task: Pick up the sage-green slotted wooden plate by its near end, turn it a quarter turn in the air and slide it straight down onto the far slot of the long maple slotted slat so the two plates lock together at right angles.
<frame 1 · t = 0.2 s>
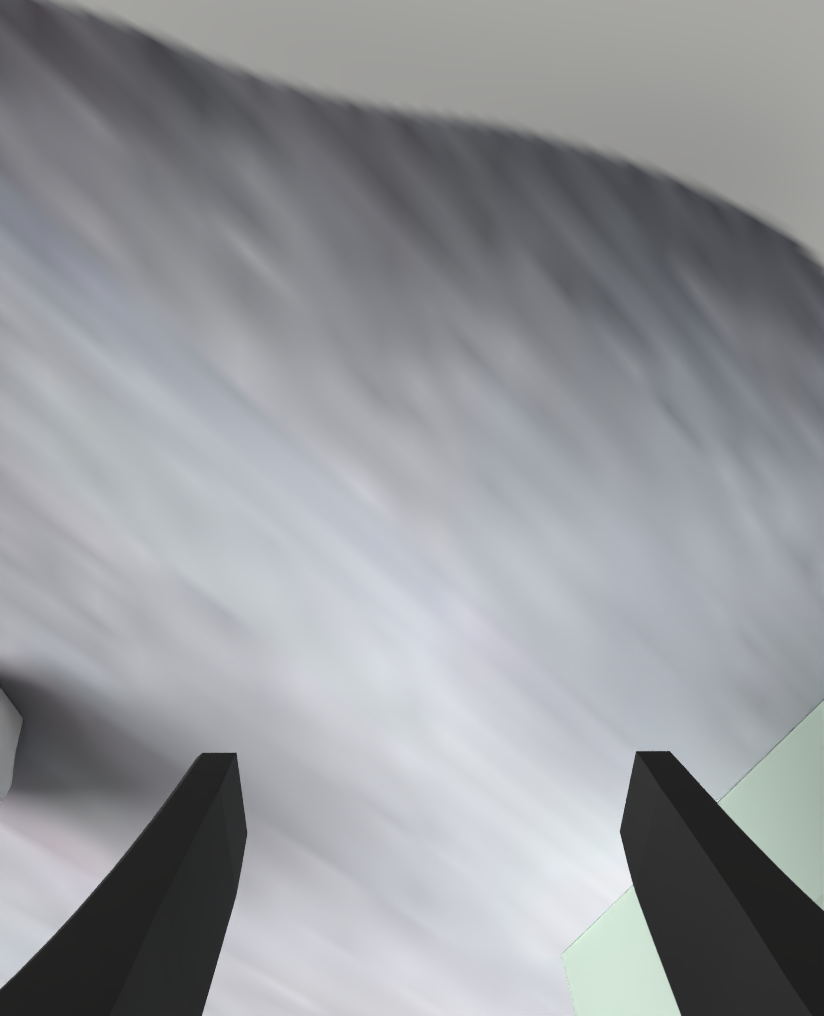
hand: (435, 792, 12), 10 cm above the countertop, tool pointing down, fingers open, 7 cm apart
green plate: (706, 832, 25), on the countertop
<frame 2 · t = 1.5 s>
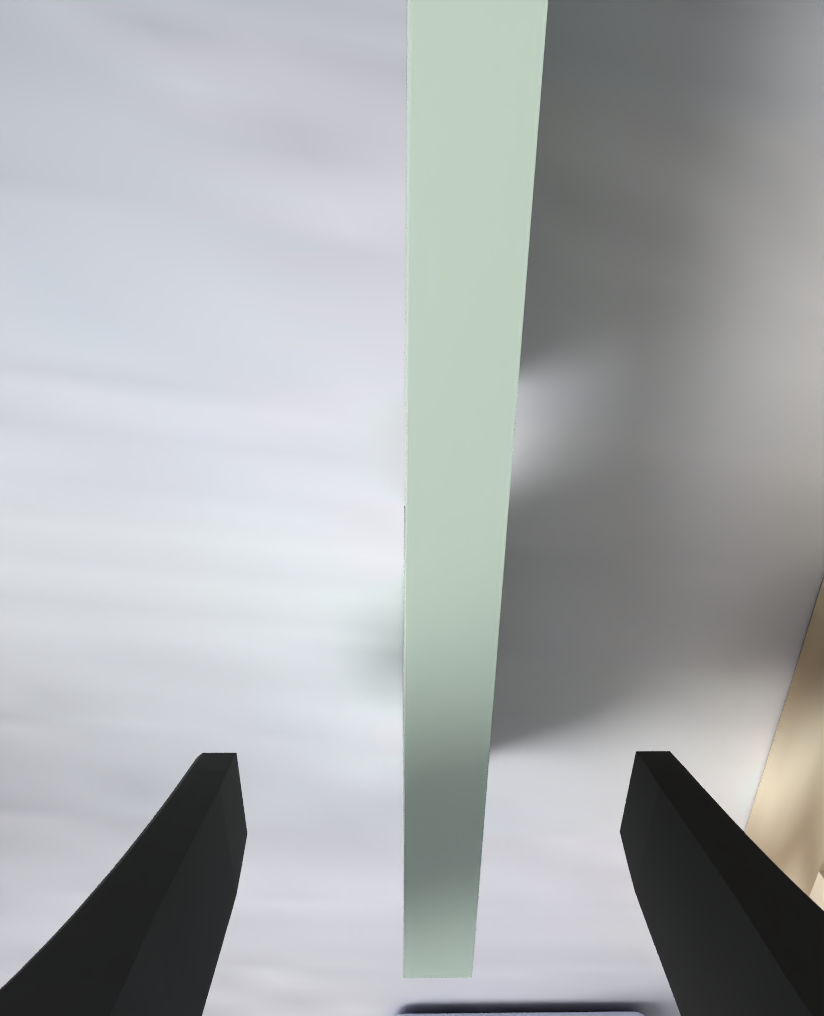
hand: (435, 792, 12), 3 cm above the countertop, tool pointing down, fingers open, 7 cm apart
green plate: (435, 449, 13), on the countertop
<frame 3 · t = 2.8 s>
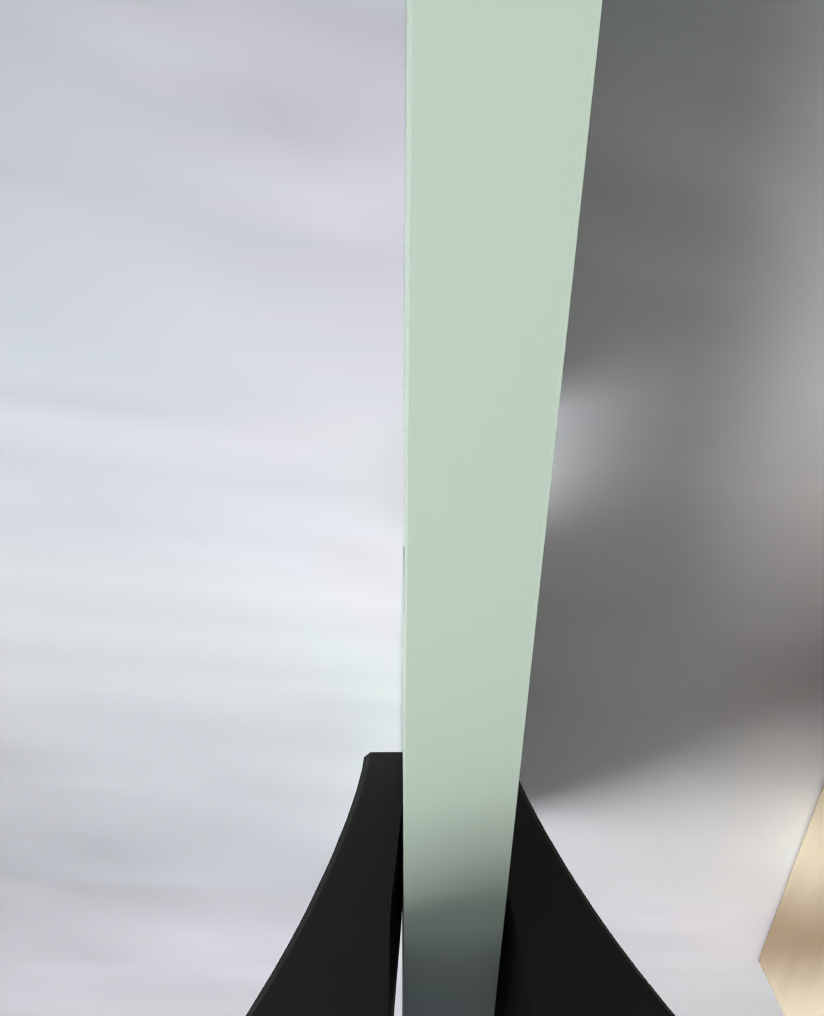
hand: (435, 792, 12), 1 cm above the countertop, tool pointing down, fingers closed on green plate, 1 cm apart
green plate: (439, 482, 11), on the countertop, touching gripper
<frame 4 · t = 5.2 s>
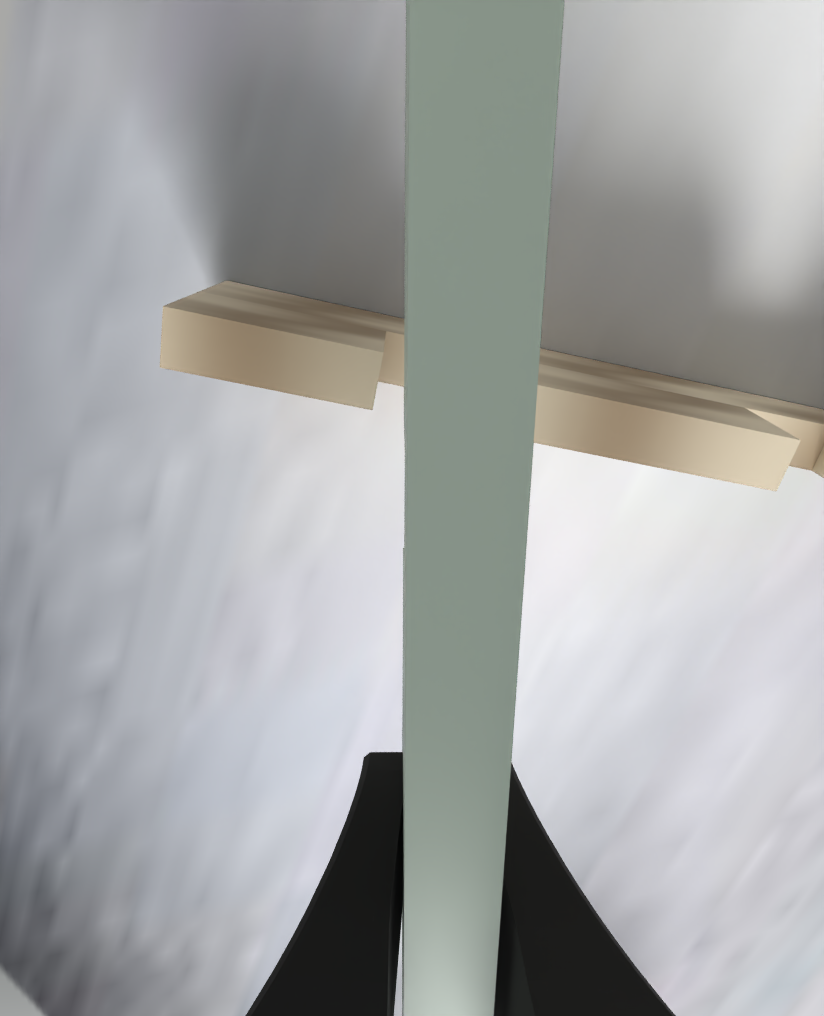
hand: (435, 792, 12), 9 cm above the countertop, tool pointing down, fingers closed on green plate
maple slat: (583, 380, 18), on the countertop
green plate: (437, 484, 12), point 7 cm above the countertop, tilted 6°, touching gripper
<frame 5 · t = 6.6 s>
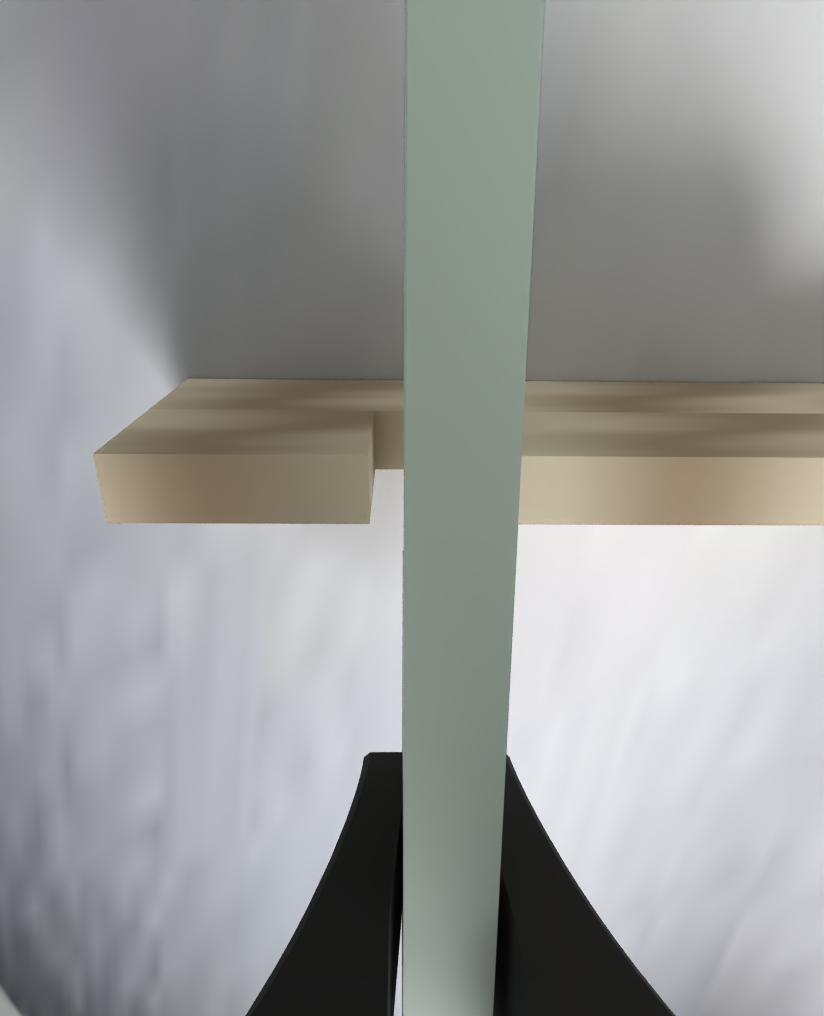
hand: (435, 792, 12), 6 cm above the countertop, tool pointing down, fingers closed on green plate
maple slat: (624, 407, 15), on the countertop
green plate: (435, 488, 12), point 4 cm above the countertop, tilted 10°, touching gripper
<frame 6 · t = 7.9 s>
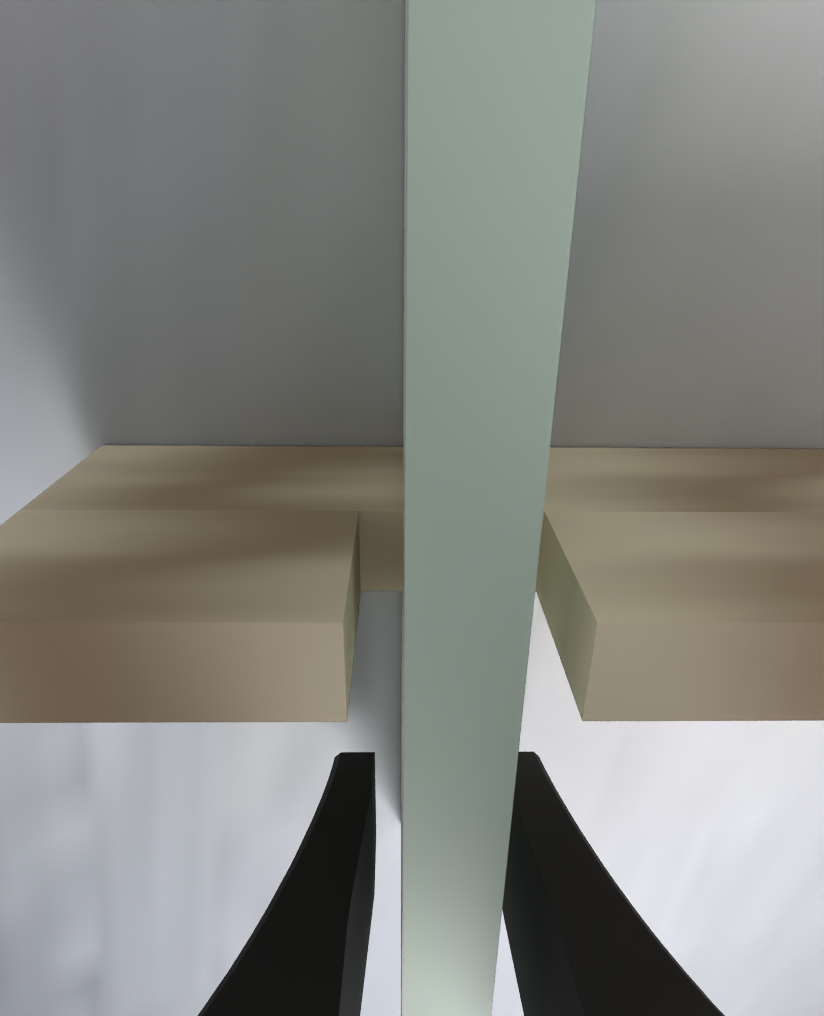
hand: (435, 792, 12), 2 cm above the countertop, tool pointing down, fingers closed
maple slat: (706, 481, 11), on the countertop
green plate: (438, 490, 11), on the countertop, touching maple slat
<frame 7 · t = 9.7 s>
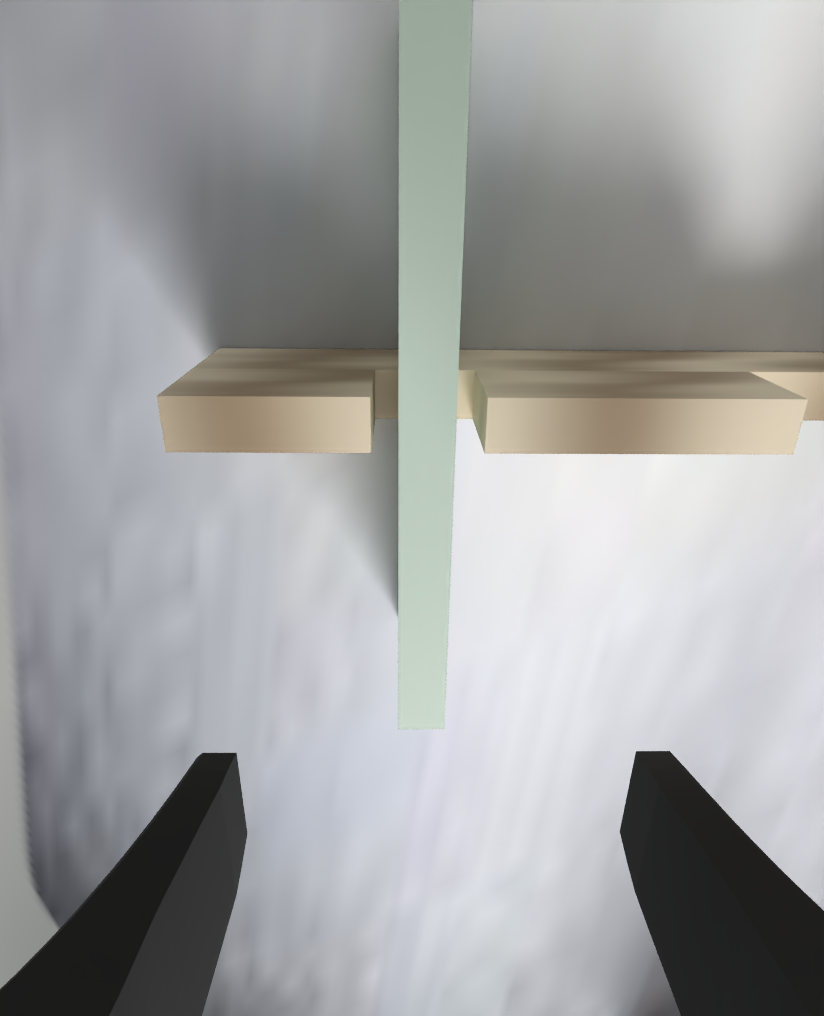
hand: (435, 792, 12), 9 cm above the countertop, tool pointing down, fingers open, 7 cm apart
maple slat: (583, 372, 18), on the countertop
green plate: (420, 377, 18), on the countertop, touching maple slat
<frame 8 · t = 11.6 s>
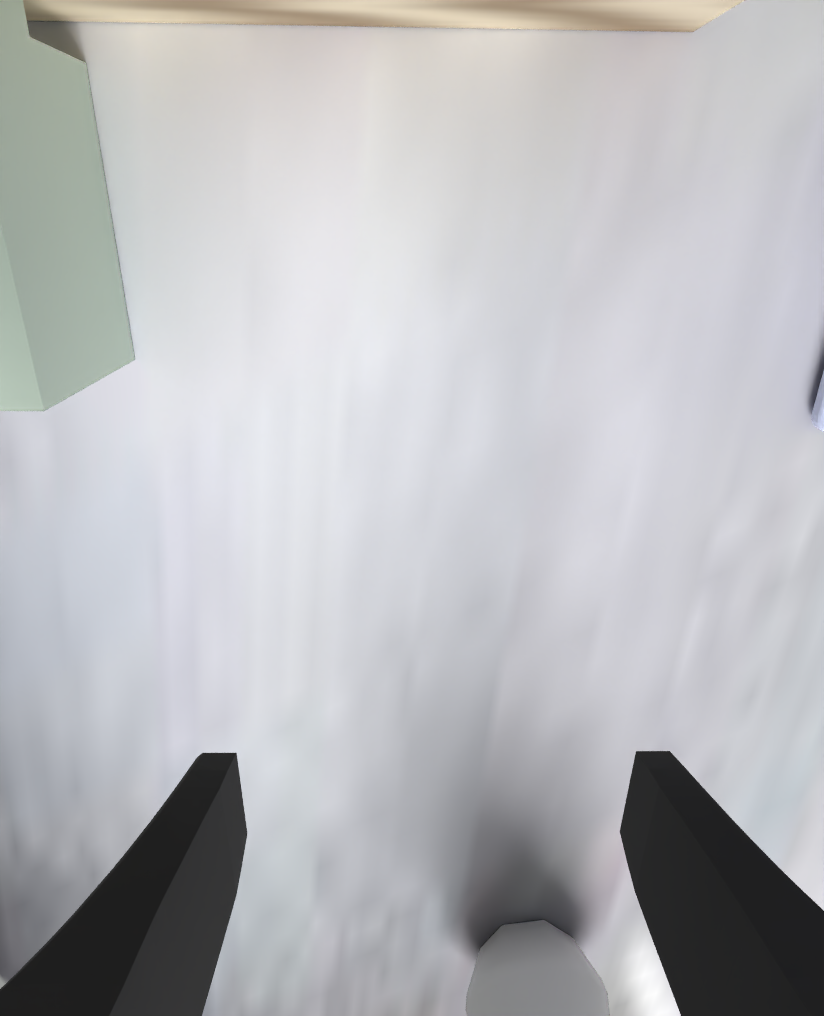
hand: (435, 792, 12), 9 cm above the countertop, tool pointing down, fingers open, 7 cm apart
salt shaker: (526, 944, 29), on the countertop
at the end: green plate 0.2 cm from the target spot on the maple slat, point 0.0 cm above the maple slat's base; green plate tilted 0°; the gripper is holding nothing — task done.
